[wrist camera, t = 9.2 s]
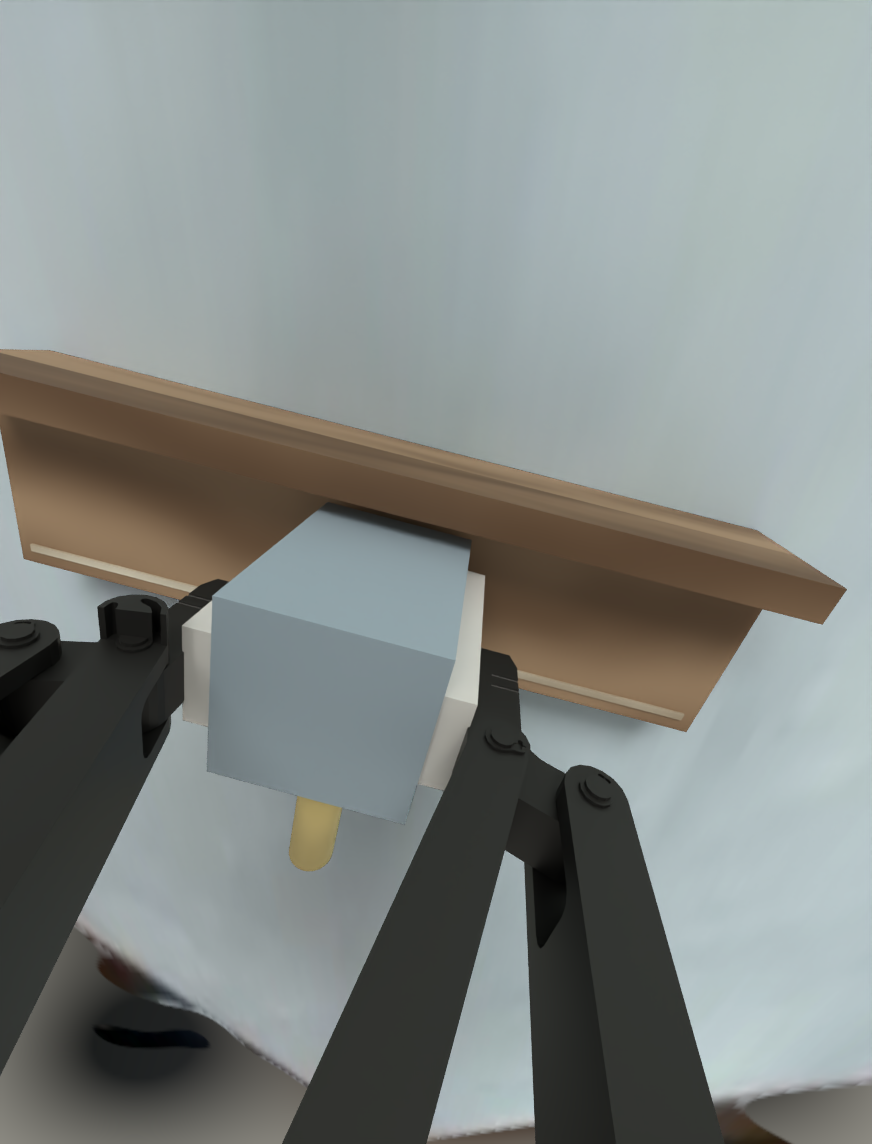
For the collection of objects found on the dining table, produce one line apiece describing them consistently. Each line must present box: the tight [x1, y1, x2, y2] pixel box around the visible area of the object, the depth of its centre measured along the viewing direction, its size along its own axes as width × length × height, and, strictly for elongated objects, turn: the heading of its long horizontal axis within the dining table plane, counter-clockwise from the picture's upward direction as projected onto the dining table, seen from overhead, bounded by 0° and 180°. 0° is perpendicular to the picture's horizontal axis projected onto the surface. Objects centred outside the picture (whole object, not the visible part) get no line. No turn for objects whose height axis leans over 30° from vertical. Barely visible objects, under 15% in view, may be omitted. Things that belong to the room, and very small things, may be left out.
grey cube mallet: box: [207, 502, 472, 871], centre depth 14 cm, size 10×5×7 cm, turn 167°
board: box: [0, 349, 847, 732], centre depth 17 cm, size 8×28×5 cm, turn 77°
